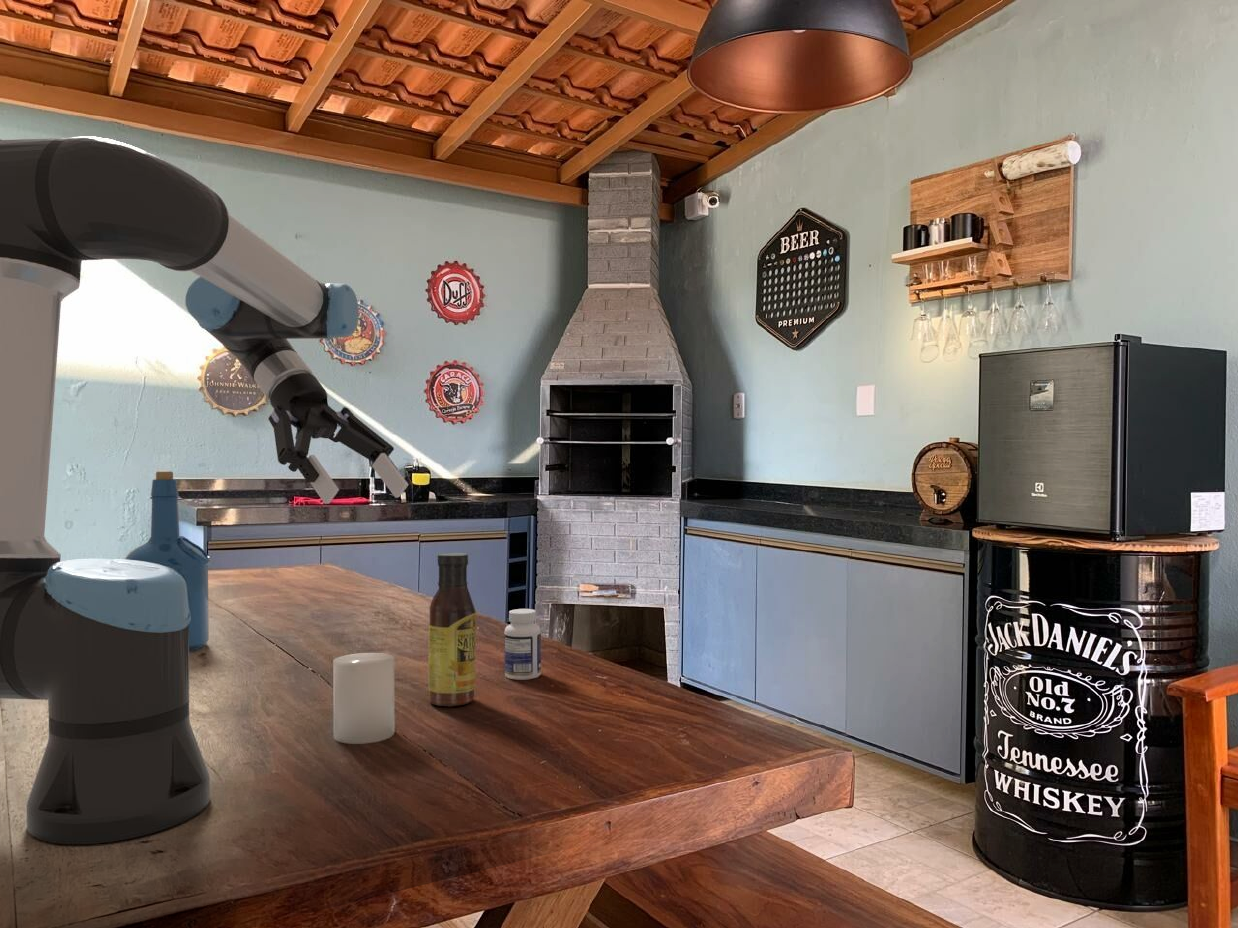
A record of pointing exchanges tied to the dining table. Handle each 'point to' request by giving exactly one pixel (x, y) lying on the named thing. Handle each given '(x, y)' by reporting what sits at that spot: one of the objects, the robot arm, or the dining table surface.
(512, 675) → the pill bottle
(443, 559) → the sauce bottle
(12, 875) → the dining table surface
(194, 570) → the wine bottle
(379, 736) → the white rounded cylinder
